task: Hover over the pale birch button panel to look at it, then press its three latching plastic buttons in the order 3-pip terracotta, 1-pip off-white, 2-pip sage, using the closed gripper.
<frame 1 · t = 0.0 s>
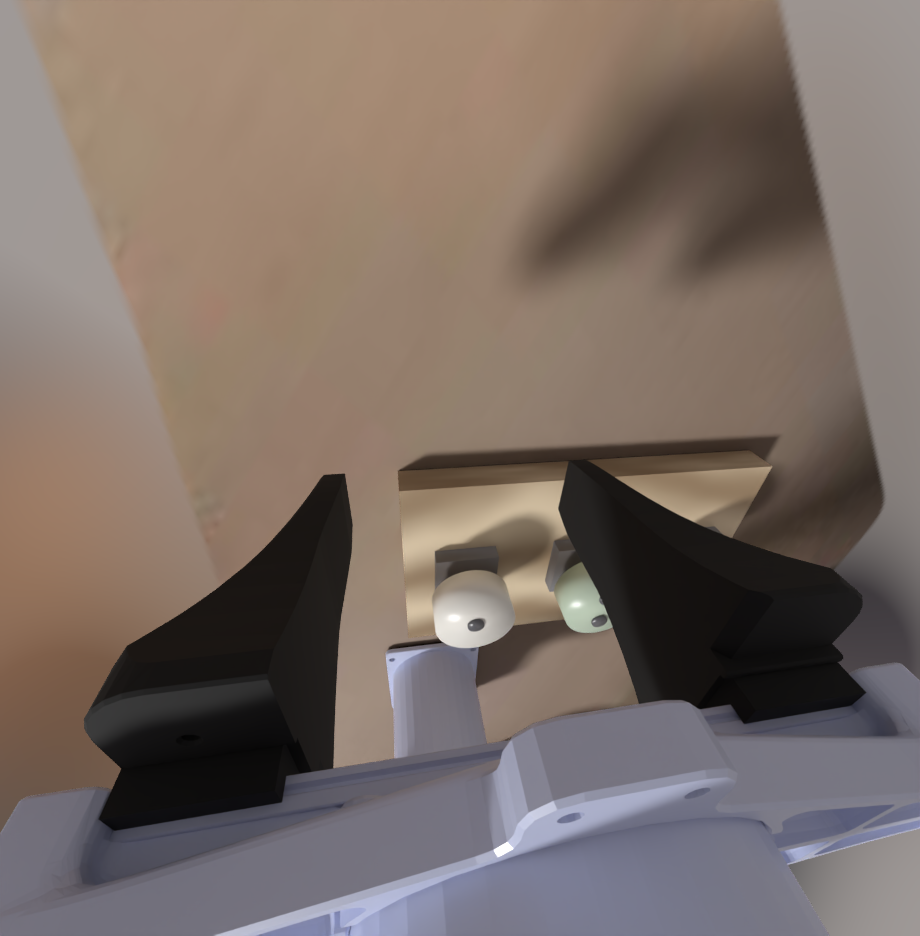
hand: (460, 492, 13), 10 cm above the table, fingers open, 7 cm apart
button 1 offwhite: (472, 610, 25), point 5 cm above the table, slide at 0.0 cm
button panel: (565, 538, 30), on the table
button 2 sage: (596, 597, 26), point 5 cm above the table, slide at 0.0 cm
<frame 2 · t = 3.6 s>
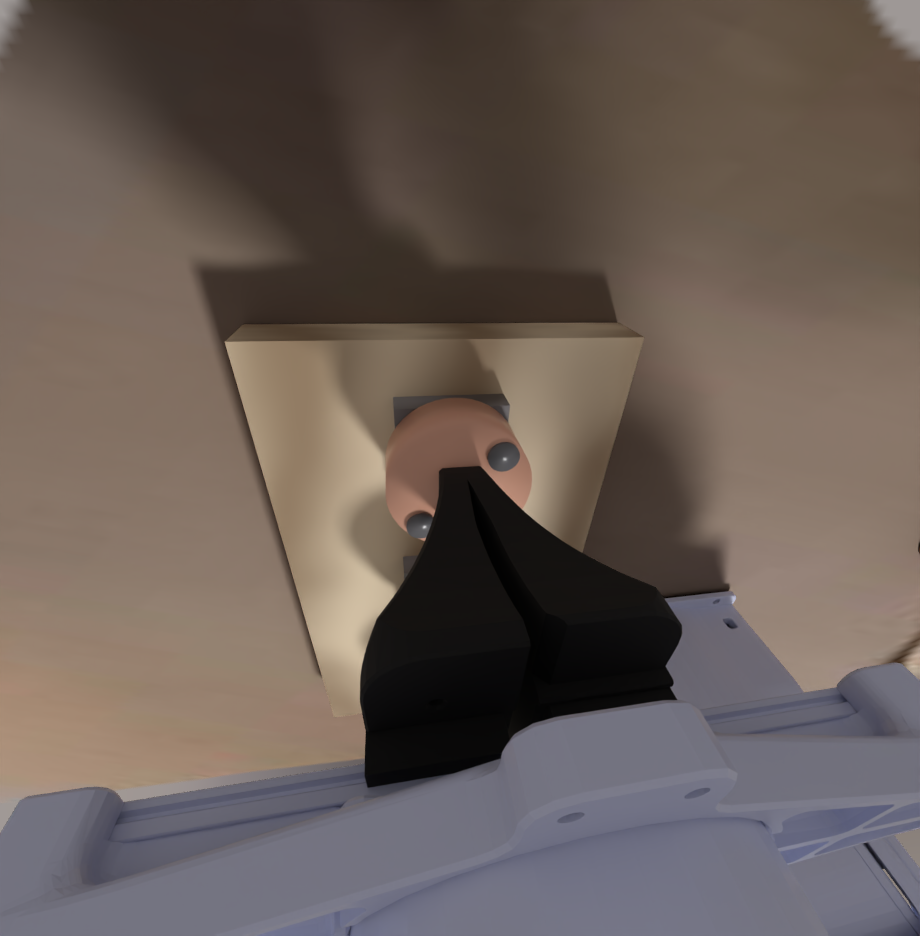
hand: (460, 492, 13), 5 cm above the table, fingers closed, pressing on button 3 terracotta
button panel: (440, 552, 22), on the table
button 3 terracotta: (456, 475, 14), point 4 cm above the table, slide at 1.1 cm, touching gripper
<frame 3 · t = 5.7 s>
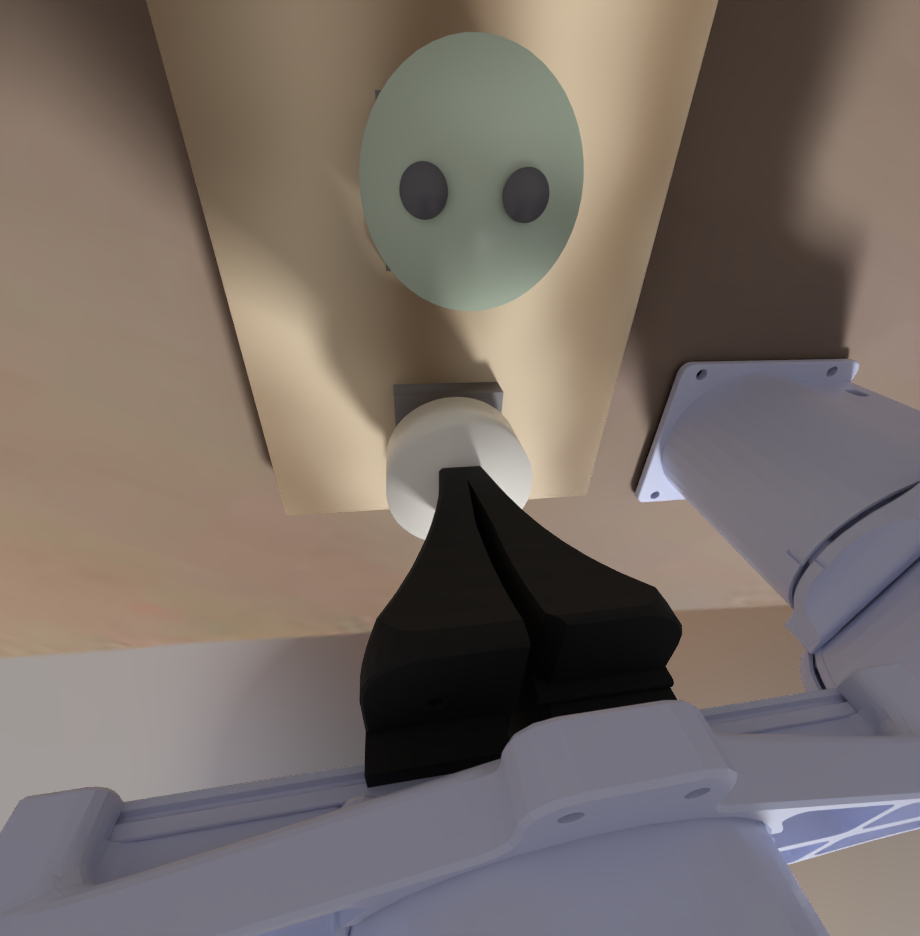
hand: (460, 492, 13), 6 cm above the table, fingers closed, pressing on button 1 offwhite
button 1 offwhite: (456, 474, 14), point 5 cm above the table, slide at 0.1 cm, touching gripper
button panel: (441, 192, 14), on the table
button 2 sage: (467, 193, 9), point 5 cm above the table, slide at 0.0 cm
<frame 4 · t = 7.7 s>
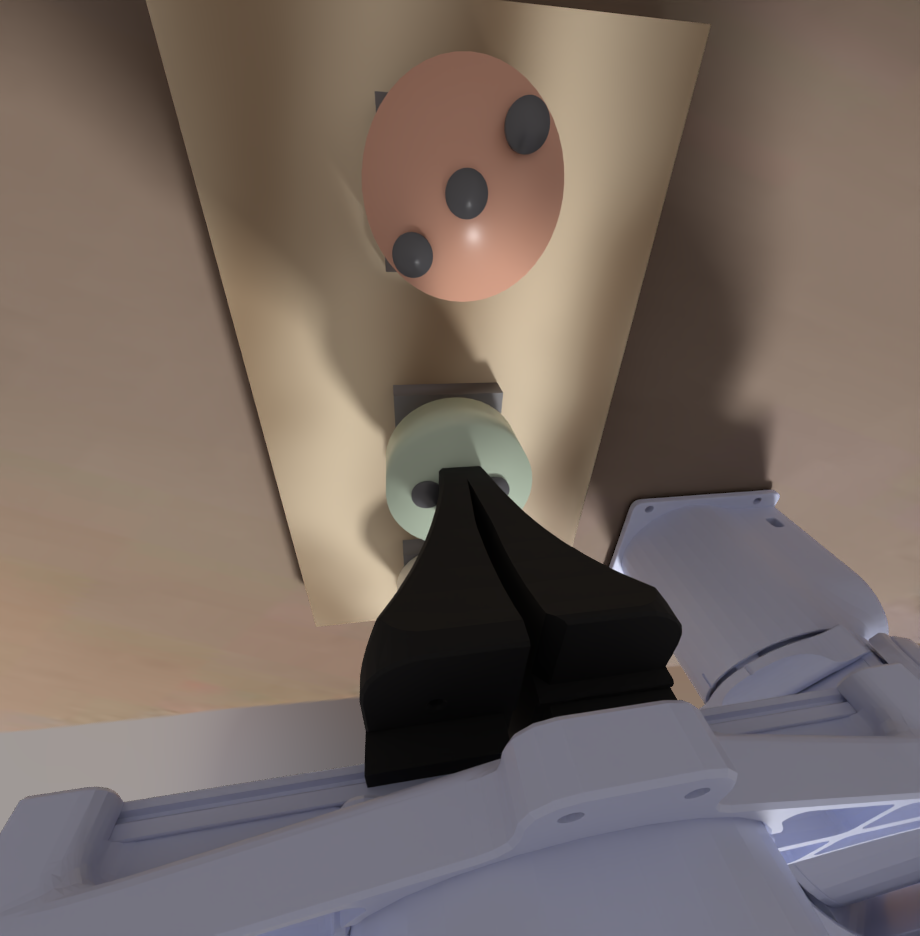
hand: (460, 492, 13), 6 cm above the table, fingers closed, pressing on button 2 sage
button 1 offwhite: (448, 599, 19), point 4 cm above the table, slide at 1.1 cm
button panel: (439, 408, 18), on the table
button 2 sage: (456, 474, 14), point 5 cm above the table, slide at 0.1 cm, touching gripper
button 3 terracotta: (460, 194, 10), point 4 cm above the table, slide at 1.1 cm
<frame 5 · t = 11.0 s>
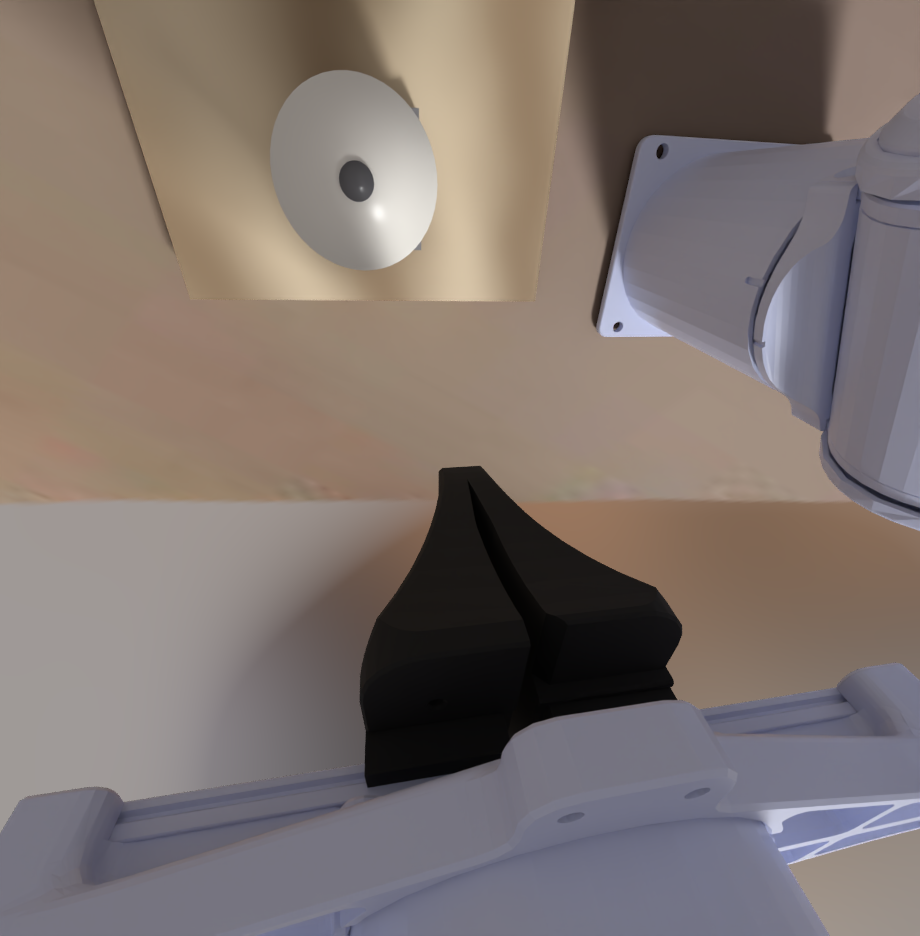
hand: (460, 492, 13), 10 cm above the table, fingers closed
button 1 offwhite: (358, 181, 13), point 4 cm above the table, slide at 1.1 cm
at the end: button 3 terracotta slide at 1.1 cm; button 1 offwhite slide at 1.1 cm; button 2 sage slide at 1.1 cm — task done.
